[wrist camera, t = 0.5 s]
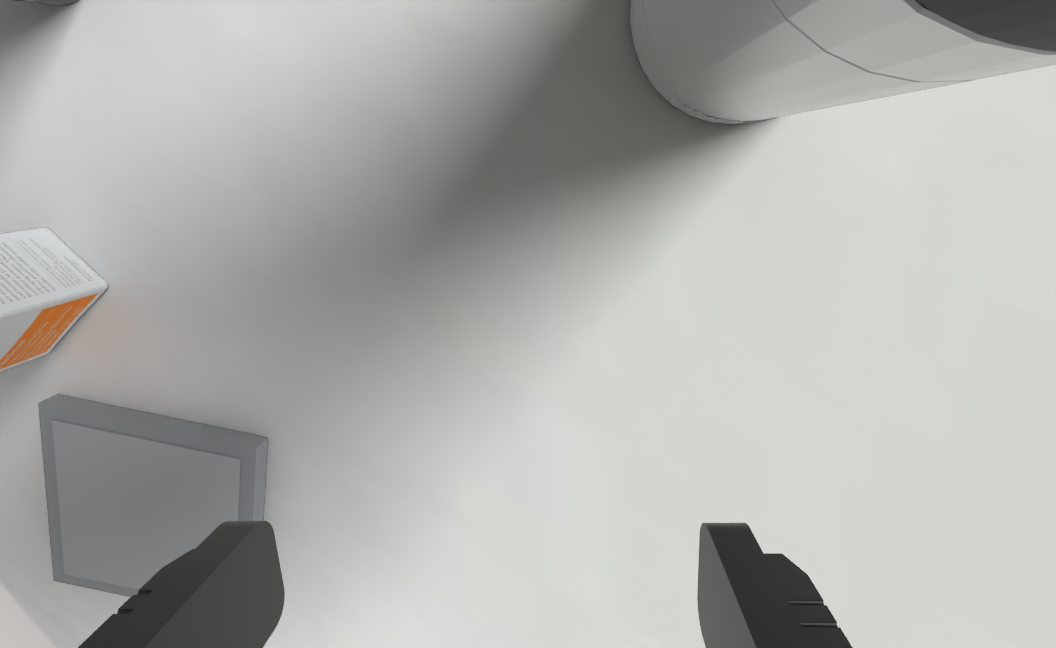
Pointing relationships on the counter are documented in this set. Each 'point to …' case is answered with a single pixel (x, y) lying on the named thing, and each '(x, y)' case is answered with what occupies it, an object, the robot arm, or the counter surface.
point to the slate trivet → (139, 489)
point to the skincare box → (40, 293)
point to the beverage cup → (53, 2)
